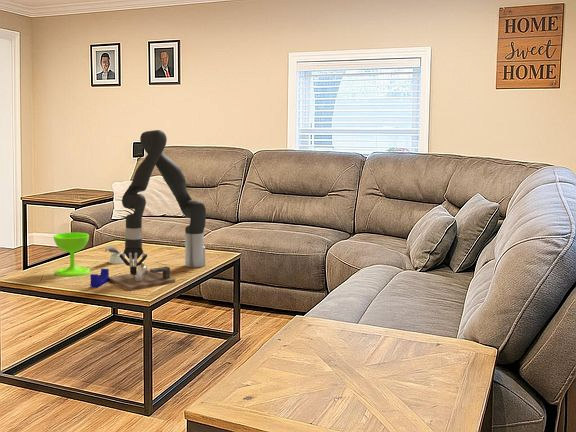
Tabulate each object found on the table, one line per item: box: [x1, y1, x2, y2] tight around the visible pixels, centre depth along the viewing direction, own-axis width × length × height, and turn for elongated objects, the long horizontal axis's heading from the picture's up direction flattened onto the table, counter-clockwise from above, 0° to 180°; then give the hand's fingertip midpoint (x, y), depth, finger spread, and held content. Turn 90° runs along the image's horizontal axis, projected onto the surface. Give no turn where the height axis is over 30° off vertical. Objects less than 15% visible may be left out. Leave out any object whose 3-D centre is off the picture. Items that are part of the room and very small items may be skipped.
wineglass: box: [53, 232, 91, 278], centre depth 299 cm, size 16×16×18 cm
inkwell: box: [104, 245, 127, 265], centre depth 318 cm, size 9×18×10 cm, turn 171°
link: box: [135, 261, 148, 281], centre depth 289 cm, size 18×4×5 cm, turn 7°
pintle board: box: [109, 266, 176, 291], centre depth 286 cm, size 23×21×6 cm
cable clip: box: [90, 268, 110, 289], centre depth 280 cm, size 12×4×6 cm, turn 171°
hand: (133, 274), depth 287 cm, fingers closed
